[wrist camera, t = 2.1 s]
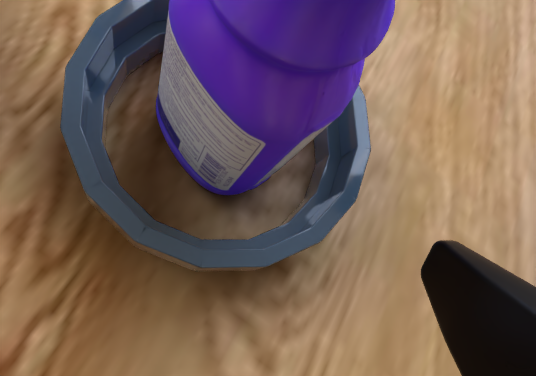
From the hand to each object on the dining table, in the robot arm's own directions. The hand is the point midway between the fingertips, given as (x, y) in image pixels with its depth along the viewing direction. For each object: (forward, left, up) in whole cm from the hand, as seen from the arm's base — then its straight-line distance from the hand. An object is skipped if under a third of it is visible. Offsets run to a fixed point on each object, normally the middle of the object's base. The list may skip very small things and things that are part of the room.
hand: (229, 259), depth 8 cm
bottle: (+4, -7, -14) cm, 16 cm away
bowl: (+4, -7, -14) cm, 16 cm away
